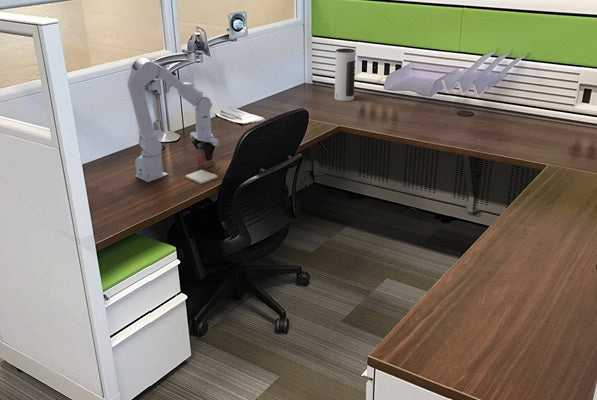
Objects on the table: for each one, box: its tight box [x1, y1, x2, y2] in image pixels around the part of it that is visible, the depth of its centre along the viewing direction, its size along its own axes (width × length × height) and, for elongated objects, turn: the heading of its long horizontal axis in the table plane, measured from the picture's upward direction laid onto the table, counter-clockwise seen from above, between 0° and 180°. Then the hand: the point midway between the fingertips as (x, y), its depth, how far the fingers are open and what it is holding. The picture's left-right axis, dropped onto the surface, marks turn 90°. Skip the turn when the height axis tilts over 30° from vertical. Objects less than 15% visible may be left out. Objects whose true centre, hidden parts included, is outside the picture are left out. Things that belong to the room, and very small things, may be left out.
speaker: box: [334, 48, 356, 102], centre depth 327 cm, size 11×10×26 cm
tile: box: [185, 169, 219, 185], centre depth 236 cm, size 8×9×1 cm
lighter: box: [195, 141, 215, 170], centre depth 245 cm, size 8×3×10 cm, turn 141°
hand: (205, 158), depth 246 cm, fingers open, 4 cm apart
